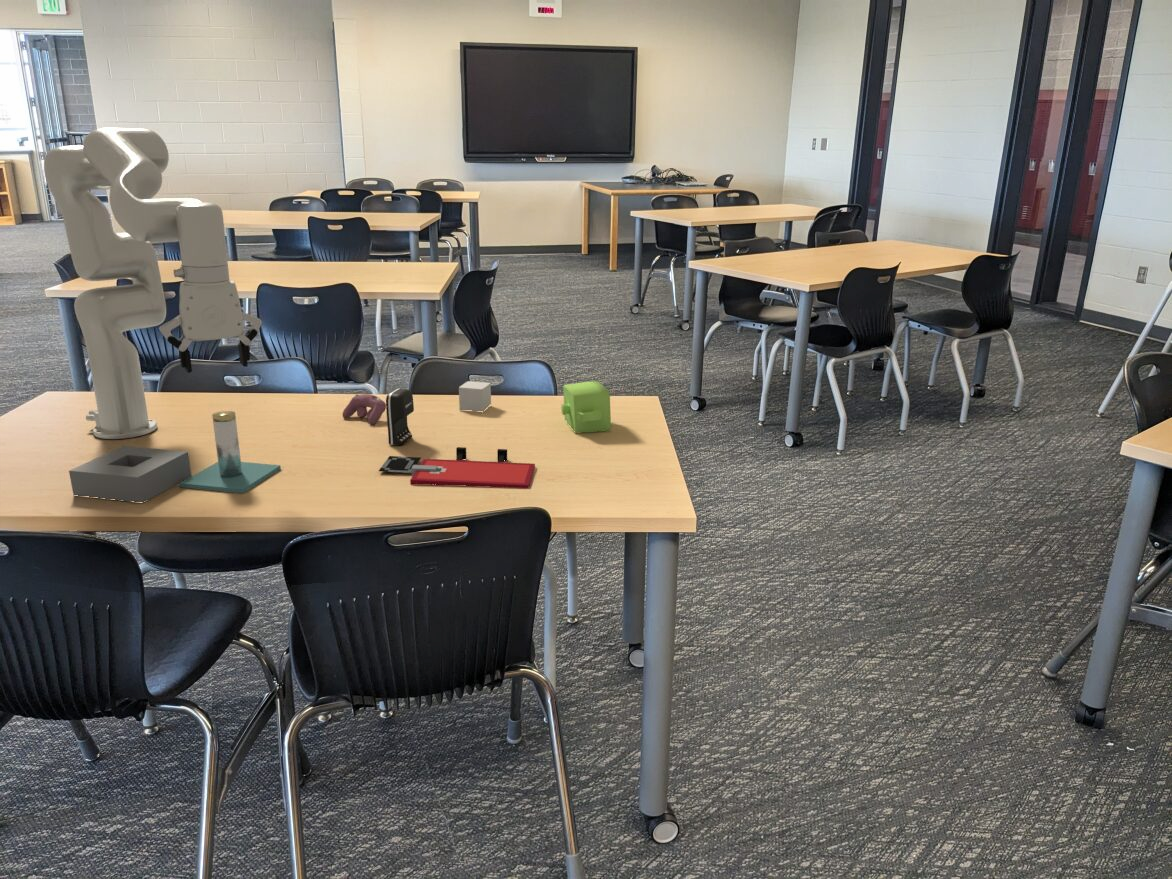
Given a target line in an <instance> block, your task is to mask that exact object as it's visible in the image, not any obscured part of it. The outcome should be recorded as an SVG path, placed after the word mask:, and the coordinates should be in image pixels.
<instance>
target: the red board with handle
mask: <svg viewBox="0 0 1172 879" xmlns="http://www.w3.org/2000/svg"><path fill="white" fill-rule="evenodd" d="M455 450H456V455H455V456H456V459H436V458H423V460H422V461H421V462H419V461H420V460H421V459H422V457H421V456H420V457H418V456H417V457H416V456H398V455H397V456H396V455H395V456H394V455H389V456H388V457H387V459H386V460H385V461H384V462H383V464H382V466H381V467H380V468H379V469H378V472H384V473H385V472H387V473H388V472H389V473H405V474H407V473H409V474H411V477H410V481H409V482H410V485H413V484H431V485H430V486H444V485H466V486H465V487H476V486H490V487H489V488H511V489H513V488H515V489H529V487H530V485H531V482H530V481H532V478H533V476H534V472H533V471H535V469H536V463H529V462H528V463H526V462H524V463H523V462H509V461H508V449H505V448H498V449H497V451H496V452H497V458H496V460H498V461H485V460H483V461H480V460H467V447H465V446H464V447H463V446H462V447H461V446H457V447H456V449H455ZM462 459H466V460H462ZM504 460H505V461H506V460H507V462H504ZM418 463H420V464H418ZM534 468H535V469H534ZM432 484H434V485H432ZM435 484H436V485H435Z"/></svg>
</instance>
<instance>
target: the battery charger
mask: <svg viewBox="0 0 1172 879" xmlns="http://www.w3.org/2000/svg"><path fill="white" fill-rule="evenodd" d="M385 404H386V409H385V414H386V423H387V435H388V445H390V446H402V445H405V444H407V442H409V441H410V440H412V439H413V434H412V433H411V431H410V428H409V425H408V416H409V415H411V414H412V413H413V412H414V411H415V406H414V397H413V392H412V391H411V390H410V389H406V388H405V389H404V388H395V389H393V390H392V391H390V392H389V393H387V395H386V398H385Z"/></svg>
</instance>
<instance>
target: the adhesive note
mask: <svg viewBox="0 0 1172 879" xmlns="http://www.w3.org/2000/svg"><path fill="white" fill-rule="evenodd" d="M491 388H492V387H491V382H482V381H471V380H470V381H469V380H468V381H465V382H464V383H463V384H461V385H459V387H458V402H459V404H458V405H459V408H458V409H459V411H460V410H472V411H484V410H485V409H486V408H487V407H488V406H489V405H490V404H491V405H492V389H491ZM484 412H485V411H484Z"/></svg>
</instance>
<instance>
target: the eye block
mask: <svg viewBox="0 0 1172 879" xmlns="http://www.w3.org/2000/svg"><path fill="white" fill-rule="evenodd" d="M189 455H190V454H189V451H183V450H174V449H173V450H172V449H164V448H162V449H161V448H152V447H142V446H141V447H139V446H129V445H123V446H121V447H118V448H116V449H114V450H112V451H109V452H107V453H105V454H102V455H100V456H98V457H96V458H93V459H91V460H89V461H87V462H85V463H83V464H80V465H78V466H76V467H74V468H71V469H70V470H68V473H69V479H70V485H71V490H72V493H73V496H74V495H78V496H89V497H98V498H105V499H115V500H123V501H134V502H144V501H146V500H148V499H150V498H151V499H153V498H155V497H157V496H158V494H159V493H160V494H162V493H163V491H164V492H166V491H167V490H170V488H172V486H173V487H174V485H175V486H176V485H178V484H180V483H181V482H182V481H183V480H186V479H188V478H190V477H191V476H192V469H191V464H190V456H189ZM165 490H166V491H165ZM161 492H162V493H161ZM160 494H159V495H160ZM156 495H157V496H156ZM154 496H155V497H154ZM152 497H153V498H152ZM151 499H150V500H151ZM148 501H149V500H148ZM146 502H147V501H146ZM144 503H145V502H144Z"/></svg>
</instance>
